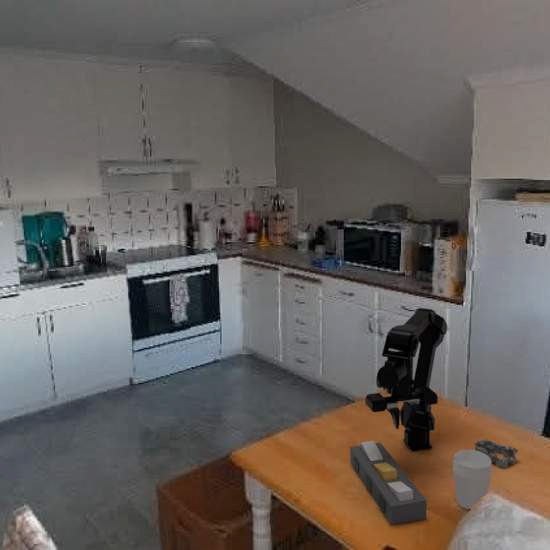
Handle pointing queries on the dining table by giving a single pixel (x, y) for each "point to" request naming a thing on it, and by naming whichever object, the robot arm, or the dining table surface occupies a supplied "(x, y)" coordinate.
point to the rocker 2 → (385, 471)
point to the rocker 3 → (400, 491)
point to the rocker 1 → (371, 451)
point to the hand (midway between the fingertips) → (401, 428)
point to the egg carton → (497, 448)
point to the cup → (471, 476)
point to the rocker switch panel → (381, 492)
